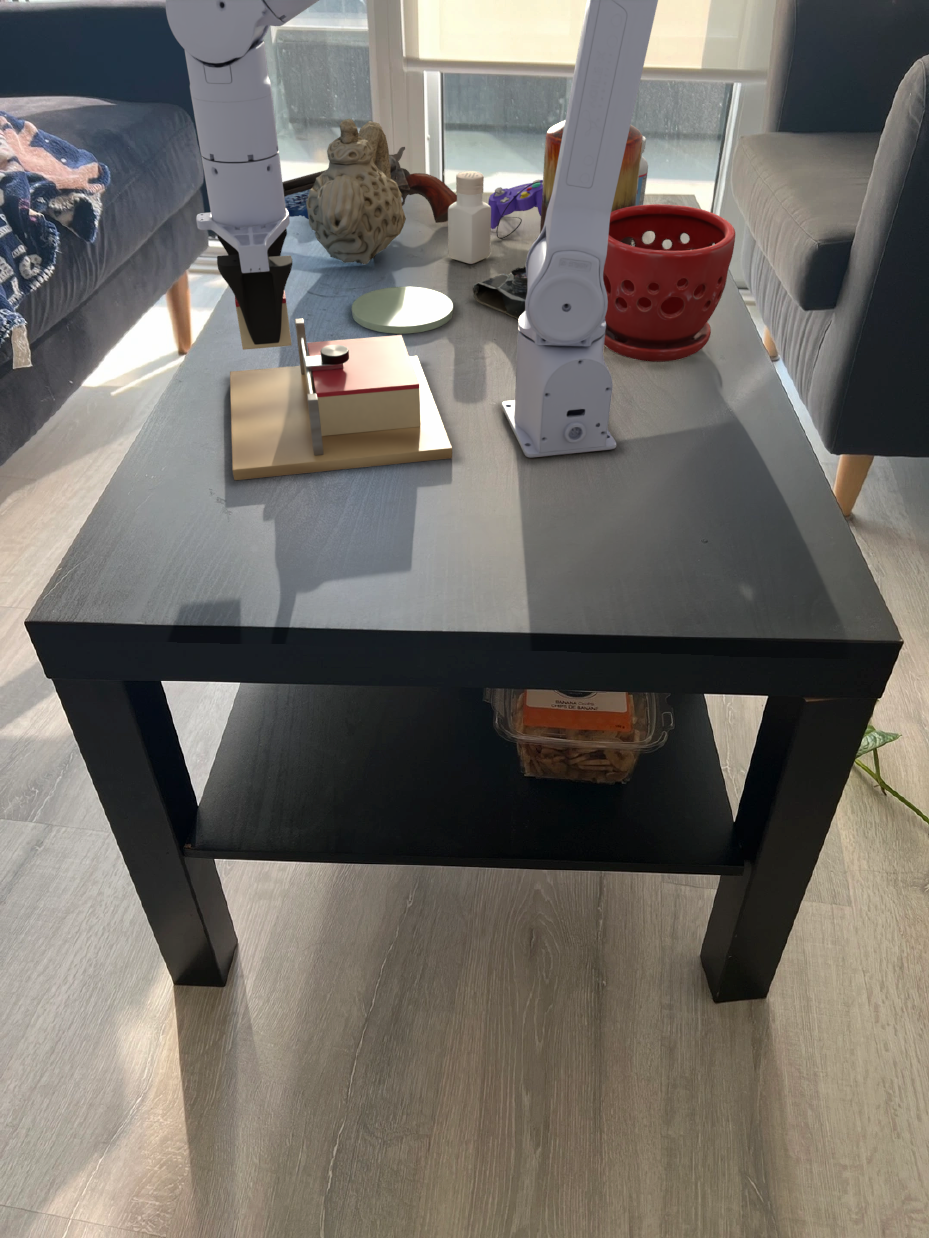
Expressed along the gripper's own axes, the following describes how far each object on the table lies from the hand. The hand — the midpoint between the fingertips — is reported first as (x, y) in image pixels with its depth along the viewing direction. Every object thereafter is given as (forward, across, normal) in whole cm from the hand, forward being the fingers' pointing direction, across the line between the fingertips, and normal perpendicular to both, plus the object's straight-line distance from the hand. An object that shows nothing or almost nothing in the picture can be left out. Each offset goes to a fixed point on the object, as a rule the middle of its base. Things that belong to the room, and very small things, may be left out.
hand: (265, 328), depth 78 cm
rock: (+2, -59, +10) cm, 60 cm away
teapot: (+8, -39, +12) cm, 41 cm away
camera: (+8, -20, +27) cm, 34 cm away
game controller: (+8, -45, +34) cm, 57 cm away
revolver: (+9, -47, +15) cm, 50 cm away
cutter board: (+8, +1, +5) cm, 10 cm away
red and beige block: (+7, +1, +8) cm, 11 cm away
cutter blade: (+7, +1, +5) cm, 8 cm away
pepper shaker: (+8, -36, +25) cm, 44 cm away
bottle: (+8, -42, +46) cm, 63 cm away
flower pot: (+8, -8, +38) cm, 40 cm away
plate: (+8, -21, +15) cm, 27 cm away
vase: (+8, -31, +38) cm, 50 cm away
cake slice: (+1, 0, 0) cm, 1 cm away
